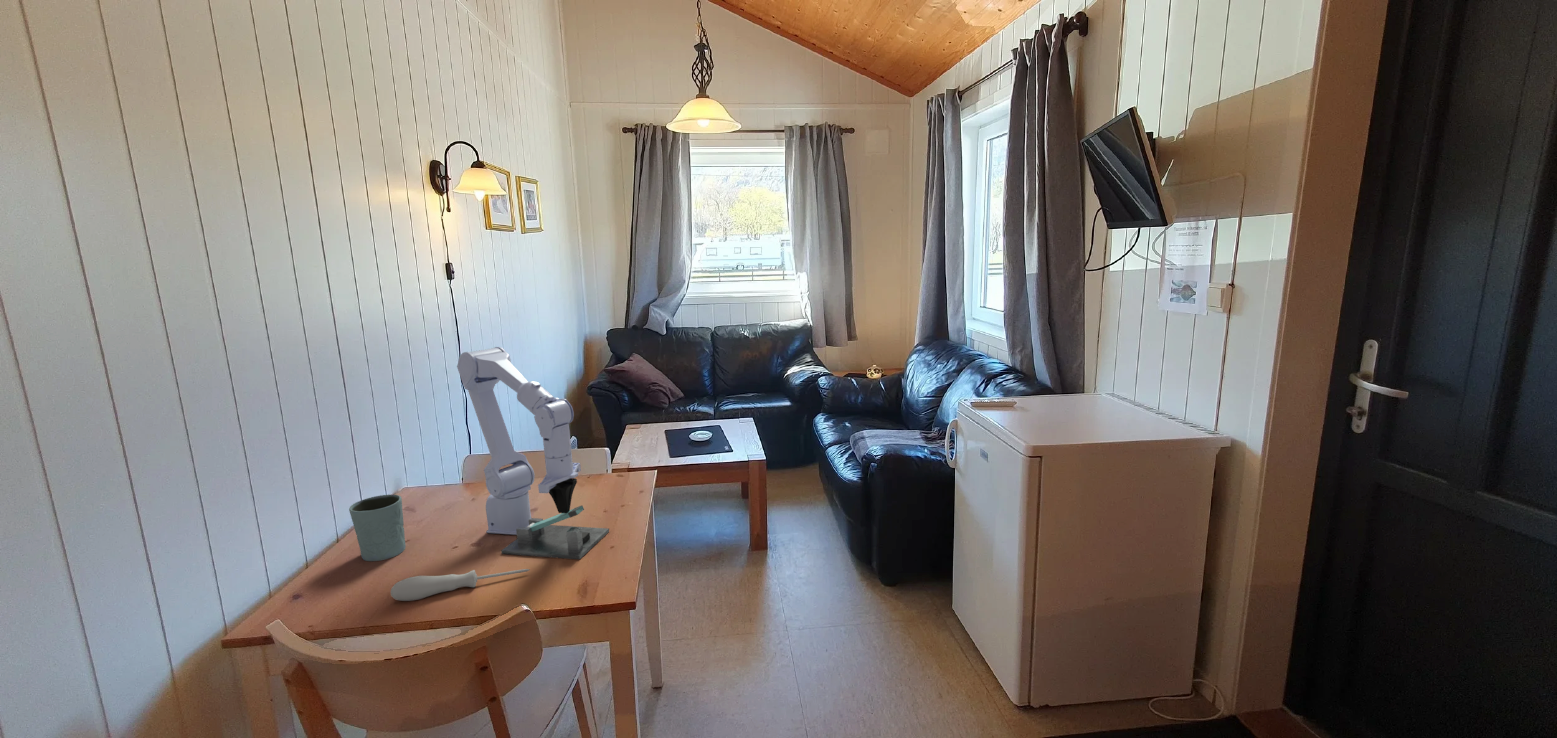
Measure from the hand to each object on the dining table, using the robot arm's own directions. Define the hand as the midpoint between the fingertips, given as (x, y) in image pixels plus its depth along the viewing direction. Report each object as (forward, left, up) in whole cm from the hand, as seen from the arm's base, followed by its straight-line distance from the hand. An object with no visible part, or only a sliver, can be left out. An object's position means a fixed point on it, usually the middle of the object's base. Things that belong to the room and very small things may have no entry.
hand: (564, 511), depth 145 cm
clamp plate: (-3, 0, -8) cm, 8 cm away
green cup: (-40, -10, -8) cm, 42 cm away
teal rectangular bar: (-3, 0, -3) cm, 4 cm away
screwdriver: (-11, -21, -8) cm, 25 cm away
